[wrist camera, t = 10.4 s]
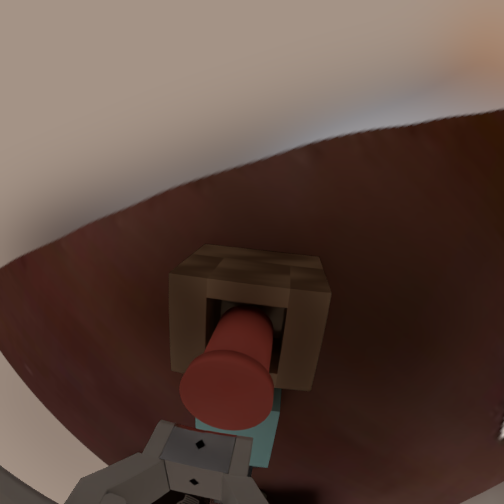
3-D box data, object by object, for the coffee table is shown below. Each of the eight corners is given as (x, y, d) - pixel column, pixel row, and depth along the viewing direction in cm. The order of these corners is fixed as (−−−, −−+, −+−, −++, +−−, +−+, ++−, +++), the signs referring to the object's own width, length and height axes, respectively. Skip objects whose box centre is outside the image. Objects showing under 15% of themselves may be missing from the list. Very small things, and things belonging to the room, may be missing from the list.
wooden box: (318, 256, 21) (331, 293, 14) (306, 333, 22) (310, 391, 16) (205, 243, 22) (168, 273, 15) (202, 319, 23) (171, 370, 16)
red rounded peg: (283, 304, 16) (278, 369, 10) (275, 361, 16) (266, 435, 11) (214, 295, 16) (177, 353, 10) (212, 352, 17) (181, 421, 11)
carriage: (283, 359, 22) (279, 411, 16) (273, 415, 23) (267, 467, 17) (215, 350, 22) (195, 398, 16) (214, 407, 23) (197, 456, 18)
